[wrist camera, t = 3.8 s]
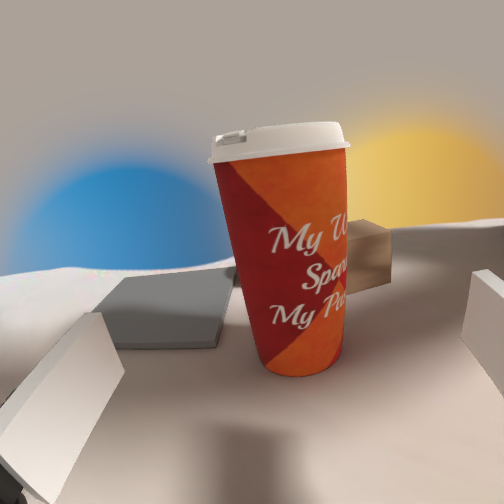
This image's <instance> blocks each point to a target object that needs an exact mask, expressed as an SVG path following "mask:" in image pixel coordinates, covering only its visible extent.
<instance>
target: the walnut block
mask: <svg viewBox="0 0 504 504" xmlns="http://www.w3.org/2000/svg"><path fill="white" fill-rule="evenodd" d="M391 260H392V231H390V230H388V229H385V228H383V227H381V226H378V225H376V224H374V223H371V222H369V221H367V220H364V219H362V220H357V221H351V222H347V279H346V295H348V294H352V293H355V292H359V291H363V290H366V289H370V288H373V287H377V286H380V285H384V284H387V283H391Z"/></svg>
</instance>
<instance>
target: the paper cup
mask: <svg viewBox="0 0 504 504" xmlns="http://www.w3.org/2000/svg"><path fill="white" fill-rule="evenodd" d="M350 146H351V145H350V144H349V142H345V141H344V138H343V134H342V130H341V127H340V124H338V122H307V123H293V124H283V125H274V126H267V127H259V128H253V129H248V130H246V131H243V130H240V131H235V132H230V133H226V134H224V135H220V136H215V137H213V139H212V157H211V158H209V159H208V162H207V163H213V165H214V169H215V174H216V178H217V183H218V187H219V191H220V196H221V201H222V205H223V210H224V214H225V218H226V223H227V227H228V232H229V236H230V240H231V245H232V249H233V254H234V258H235V262H236V267H237V271H238V275H239V279H240V283H241V288H242V292H243V296H244V300H245V304H246V308H247V312H248V316H249V320H250V324H251V328H252V332H253V336H254V340H255V344H256V347H257V351H258V354H259V357H260V360H261V362H262V363H263V365H264V366H265V367H266V368H267V369H269V370H270V371H272V372H274V373H276V374H279V375H283V376H289V377H303V376H309V375H313V374H316V373H319V372H322V371H324V370H326V369H327V368H329V367H330V366H331V365H333V364H334V363H335V362H336V360H337V359H338V357H339V355H340V352H341V347H342V340H343V330H344V317H345V301H346V279H347V180H346V158H345V157H346V156H345V148H346V147H350Z"/></svg>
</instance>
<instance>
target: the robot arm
mask: <svg viewBox="0 0 504 504" xmlns="http://www.w3.org/2000/svg"><path fill="white" fill-rule="evenodd" d="M460 338H461V339H462V341H463V342H464V343H465V344H466V346H467V347H468V348H469V350H470V351H471V352H472V354H473V355H474V356H475V358H476V359H477V360H478V362H479V363H480V364H481V366H482V367H483V368H484V370H485V371H486V373H487V374H488V375H489V377H490V378H491V380H492V381H493V382H494V384H495V385H496V387H497V388H498V390H499V391H500V393H501V394H502V396H503V397H504V281H503V280H501V279H500V278H499V277H498V276H496V275H495V274H494V273H492V272H491V271H490V270H488V269H485V270H480V271H474V272H472V275H471V283H470V289H469V296H468V301H467V307H466V312H465V318H464V323H463V327H462V332H461V336H460ZM124 373H125V370H124V368H123V365H122V363H121V361H120V359H119V356H118V354H117V352H116V349H115V347H114V344H113V342H112V340H111V337H110V335H109V332H108V329H107V327H106V324H105V322H104V319H103V316H102V314H101V312H96V313H84V314H83V316H82V317H81V318H80V319H79V320H78V321H77V322H76V323H75V324H74V325H73V326H72V327H71V328H70V329H69V330H68V331H67V332H66V333H65V335H64V336H63V337H62V338H61V339H60V340H59V341H58V342H57V343H56V344H55V345H54V346H53V348H52V349H51V350H50V351H49V352H48V353H47V354H46V355H45V356H44V358H43V359H42V360H41V361H40V362H39V363H38V364H37V365H36V367H35V368H34V369H33V370H32V371H31V372H30V374H29V375H28V376H27V377H26V378H25V379H24V381H23V382H22V383H21V384H20V385H19V386H18V387H17V388H16V389H15V390H14V391H13V392H12V393H11V394H10V395H9V397H8V398H7V399H6V402H4V403H3V404H2V405H1V406H0V504H27V501H26V498H25V496H24V495H23V494H22V493H21V491H22V489H23V488H25V489H26V490H27V491H28V492H29V493H30V494H31V495H32V496H33V497H35V498H36V499H38V500H40V501H42V502H44V503H47V504H54V503H55V501H56V499H57V497H58V495H59V493H60V491H61V489H62V487H63V485H64V483H65V481H66V479H67V477H68V475H69V473H70V471H71V469H72V467H73V466H74V464H75V462H76V460H77V458H78V456H79V454H80V452H81V450H82V448H83V447H84V445H85V443H86V441H87V439H88V437H89V435H90V433H91V432H92V430H93V428H94V426H95V424H96V422H97V421H98V419H99V417H100V415H101V413H102V412H103V410H104V408H105V406H106V404H107V403H108V401H109V399H110V397H111V396H112V394H113V392H114V390H115V389H116V387H117V385H118V383H119V382H120V380H121V378H122V376H123V375H124Z"/></svg>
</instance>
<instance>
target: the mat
mask: <svg viewBox="0 0 504 504" xmlns="http://www.w3.org/2000/svg"><path fill="white" fill-rule="evenodd" d="M236 274H237V267H227V268H217V269H208V270H198V271H188V272H178V273H168V274H158V275H148V276H137V277H127V278H124V279H123V280H122V281H121V282H120V283H119V284H118V285H117V286H116V287H115V288H114V289H113V290H112V291H111V292H110V293H109V294H108V295H107V296H106V297H105V298H104V299H103V300H102V301H101V303H100V304H99V305H98V306H97V307H96V308H95V309H94V310H93V311H92V312H91V313H96V312H101V314H102V316H103V319H104V322H105V324H106V327H107V329H108V332H109V335H110V337H111V340H112V342H113V344H114V347H115V349H179V348H209V347H216V345H217V342H218V338H219V335H220V331H221V328H222V324H223V320H224V317H225V313H226V310H227V306H228V303H229V299H230V296H231V292H232V289H233V285H234V281H235V278H236Z"/></svg>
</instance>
